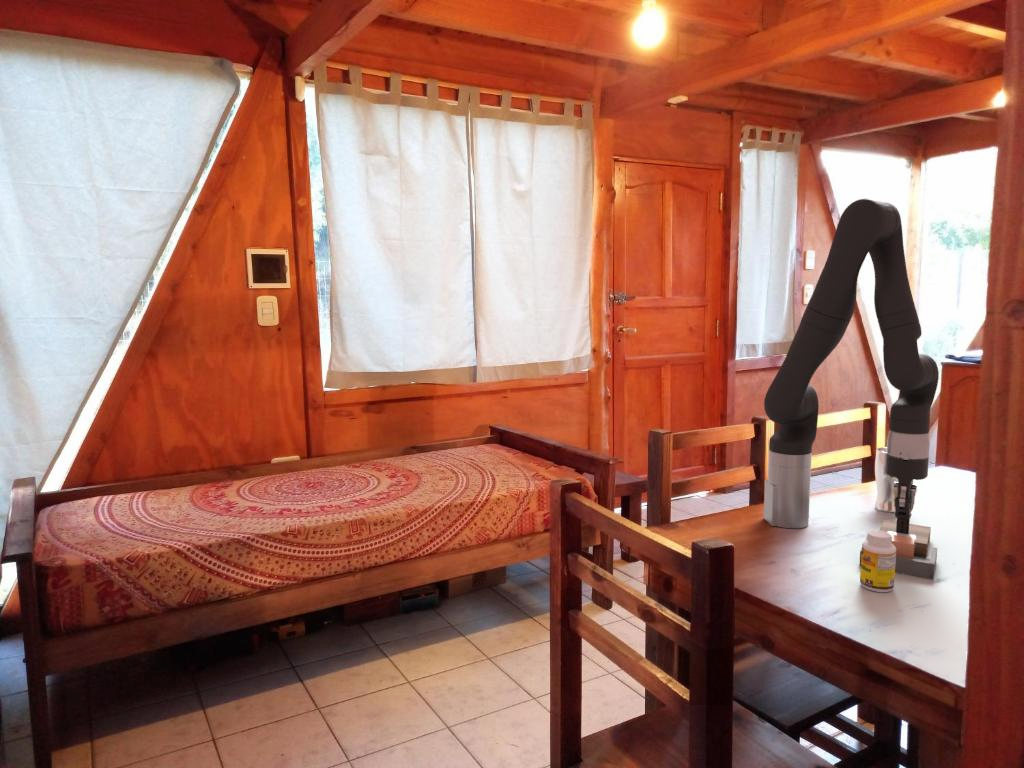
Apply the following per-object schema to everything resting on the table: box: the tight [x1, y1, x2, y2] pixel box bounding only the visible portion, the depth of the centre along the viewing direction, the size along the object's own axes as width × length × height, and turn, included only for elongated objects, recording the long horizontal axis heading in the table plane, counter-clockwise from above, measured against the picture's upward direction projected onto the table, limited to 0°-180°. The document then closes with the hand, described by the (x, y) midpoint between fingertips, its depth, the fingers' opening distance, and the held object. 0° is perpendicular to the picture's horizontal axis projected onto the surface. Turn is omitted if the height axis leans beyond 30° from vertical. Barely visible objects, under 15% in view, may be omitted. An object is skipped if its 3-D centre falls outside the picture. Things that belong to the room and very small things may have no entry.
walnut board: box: [879, 519, 931, 558], centre depth 149 cm, size 12×9×3 cm
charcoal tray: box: [859, 536, 938, 580], centre depth 139 cm, size 10×13×3 cm
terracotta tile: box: [891, 534, 915, 559], centre depth 138 cm, size 5×5×2 cm
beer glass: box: [874, 446, 898, 514], centre depth 172 cm, size 7×7×15 cm
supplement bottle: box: [859, 529, 896, 593], centre depth 128 cm, size 6×6×10 cm
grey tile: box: [888, 531, 916, 551], centre depth 141 cm, size 5×5×2 cm
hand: (902, 535), depth 144 cm, fingers closed
